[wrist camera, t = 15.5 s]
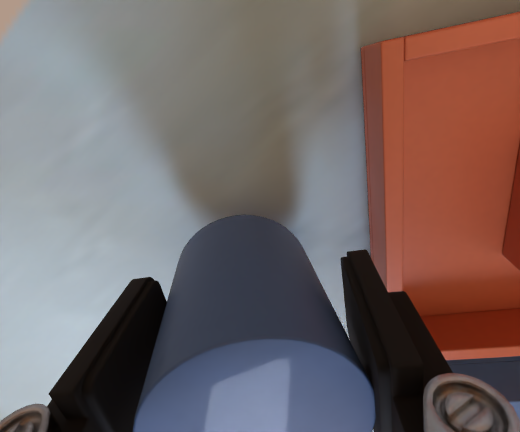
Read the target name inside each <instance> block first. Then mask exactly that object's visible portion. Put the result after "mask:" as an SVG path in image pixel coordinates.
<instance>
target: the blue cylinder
mask: <svg viewBox="0 0 520 432" xmlns="http://www.w3.org/2000/svg"><path fill="white" fill-rule="evenodd" d="M375 419H376V412H375V397H374V389H373V387H372V384H371V382H370V380H369V378H368V376H367V374H366V372H365V370H364V368H363V366H362V364H361V362H360V360H359V358H358V356H357V354H356V352H355V350H354V348H353V346H352V344H351V342H350V340H349V338H348V336H347V334H346V332H345V330H344V328H343V326H342V324H341V322H340V320H339V318H338V316H337V314H336V312H335V310H334V308H333V306H332V304H331V302H330V300H329V299H328V297H327V295H326V293H325V291H324V289H323V287H322V285H321V283H320V281H319V279H318V277H317V275H316V273H315V271H314V269H313V267H312V265H311V263H310V261H309V259H308V257H307V255H306V253H305V251H304V249H303V247H302V245H301V244H300V242H299V241H298V239H297V238H296V237H295V236H294V234H293V233H291V232H290V231H289V230H288V229H287V228H285V227H284V226H282V225H281V224H279V223H277V222H275V221H273V220H270V219H267V218H264V217H260V216H254V215H236V216H231V217H226V218H223V219H220V220H217V221H215V222H212V223H210V224H209V225H207V226H205V227H204V228H202V229H201V230H200V231H198V232H197V233H196V234H195V235H194V236H193V237H192V238H191V239H190V240H189V242H188V243H187V244H186V246H185V247H184V249H183V251H182V253H181V256H180V258H179V261H178V265H177V269H176V272H175V276H174V279H173V283H172V286H171V290H170V293H169V297H168V300H167V304H166V308H165V311H164V315H163V318H162V322H161V325H160V329H159V332H158V336H157V339H156V343H155V347H154V350H153V354H152V357H151V361H150V364H149V368H148V371H147V375H146V378H145V382H144V386H143V389H142V393H141V396H140V400H139V403H138V407H137V410H136V414H135V418H134V425H133V432H372V430H373V427H374V424H375Z"/></svg>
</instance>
